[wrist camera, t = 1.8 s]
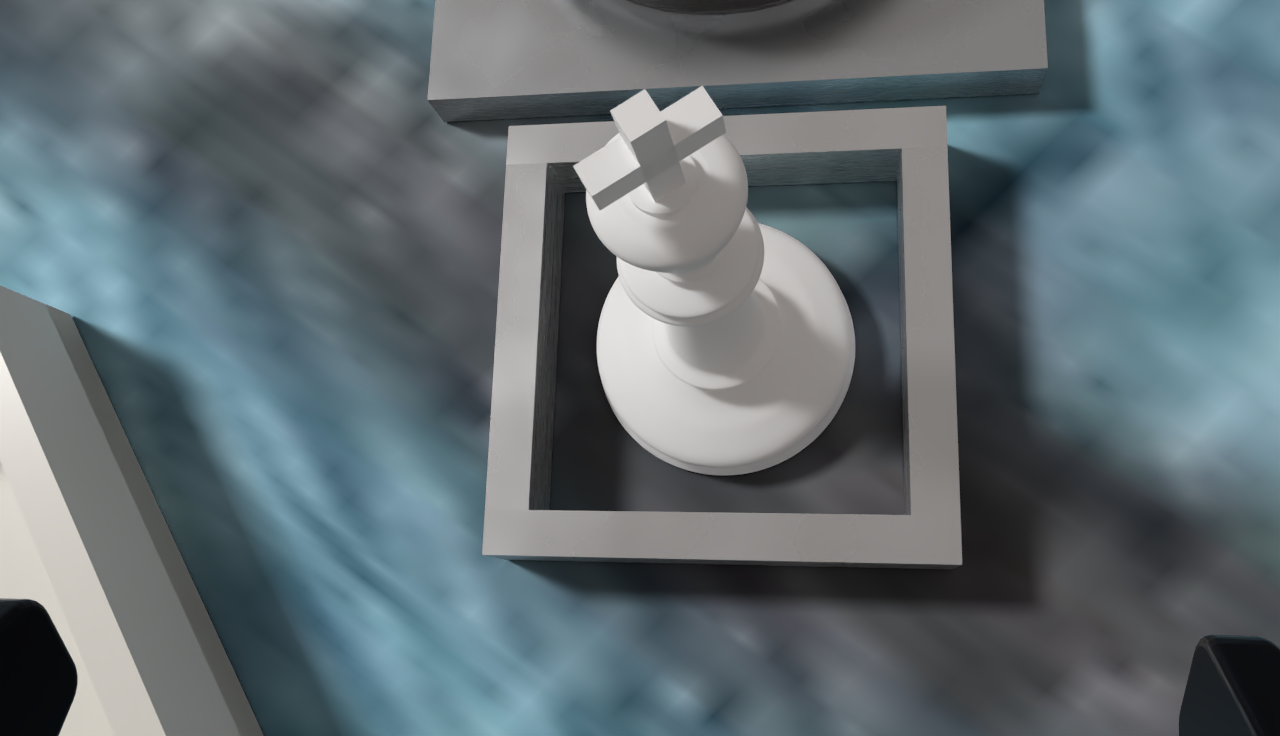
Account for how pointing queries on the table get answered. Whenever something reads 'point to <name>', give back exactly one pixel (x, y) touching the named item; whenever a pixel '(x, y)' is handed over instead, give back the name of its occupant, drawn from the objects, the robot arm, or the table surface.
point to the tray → (100, 546)
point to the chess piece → (708, 299)
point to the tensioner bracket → (772, 155)
